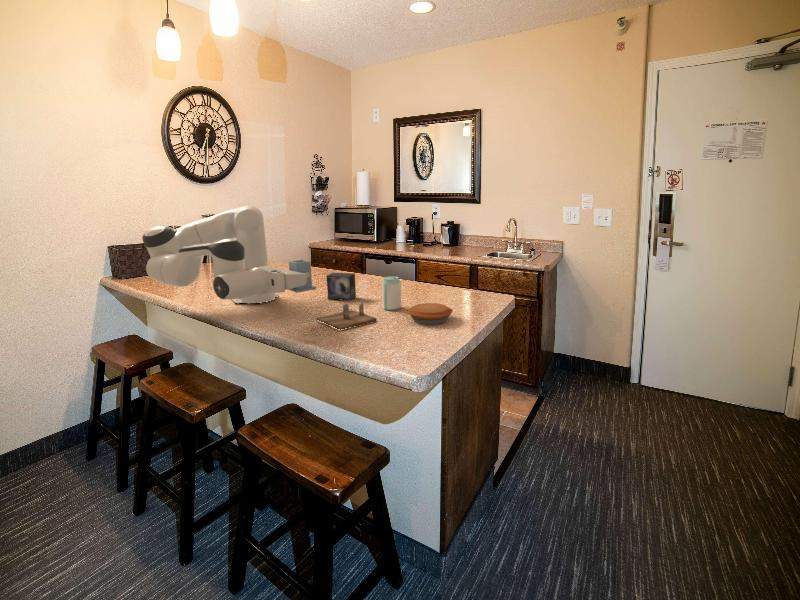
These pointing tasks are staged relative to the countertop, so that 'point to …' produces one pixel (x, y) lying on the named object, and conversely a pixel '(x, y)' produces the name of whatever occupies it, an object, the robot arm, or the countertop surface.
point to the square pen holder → (302, 267)
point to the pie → (430, 313)
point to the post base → (346, 322)
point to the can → (391, 293)
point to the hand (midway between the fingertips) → (302, 273)
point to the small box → (341, 286)
